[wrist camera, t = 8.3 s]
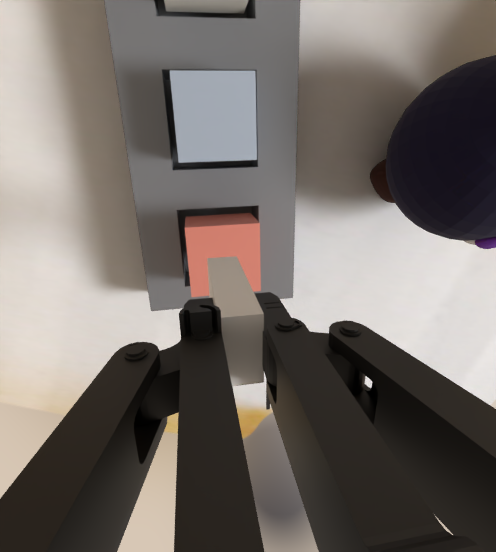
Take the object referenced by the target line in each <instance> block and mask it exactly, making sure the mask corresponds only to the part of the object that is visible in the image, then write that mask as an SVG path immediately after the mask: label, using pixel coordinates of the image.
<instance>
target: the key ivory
mask: <svg viewBox="0 0 496 552" xmlns="http://www.w3.org/2000/svg"><path fill="white" fill-rule="evenodd" d="M248 1H249V0H164V3H165V8H166V11H169V12H206V13H243V14H244V11H245V9H246V6H247V3H248Z"/></svg>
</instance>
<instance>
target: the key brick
mask: <svg viewBox="0 0 496 552" xmlns="http://www.w3.org/2000/svg"><path fill="white" fill-rule="evenodd" d="M185 236H186V246H187V256H188V266H189V276H190V287H191V297H200V296H209V279H208V263H207V258H219V257H235V256H237V258H238V260H239V263H240V265H241V267H242V269H243V271H244V273H245V275H246V277H247V279H248V281H249V284H250V286H251V288H252V290H253V292H255V291H261V268H260V223H259V222H258V221H257V220H256V218H255V217H254V216H253V215H252V214H251V213H238V214H221V215H204V216H186V218H185Z"/></svg>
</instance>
